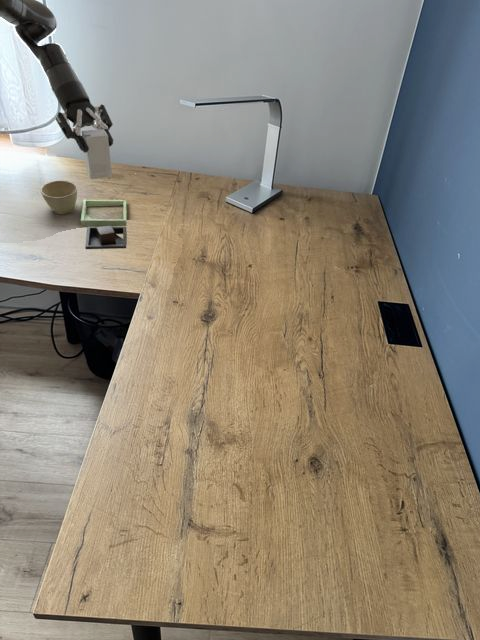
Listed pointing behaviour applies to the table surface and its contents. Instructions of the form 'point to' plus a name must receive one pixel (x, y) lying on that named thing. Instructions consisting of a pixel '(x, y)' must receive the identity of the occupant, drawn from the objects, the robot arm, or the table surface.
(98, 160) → the cosmetic box
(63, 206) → the bowl
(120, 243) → the dark tray
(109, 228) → the dark block
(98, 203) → the light tray
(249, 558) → the table surface
